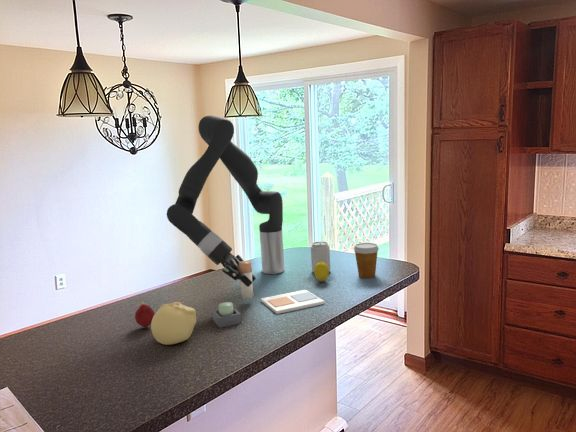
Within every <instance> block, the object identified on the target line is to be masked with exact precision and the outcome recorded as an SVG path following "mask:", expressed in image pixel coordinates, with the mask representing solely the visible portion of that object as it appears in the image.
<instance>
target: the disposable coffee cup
mask: <svg viewBox="0 0 576 432" xmlns="http://www.w3.org/2000/svg"><path fill="white" fill-rule="evenodd" d="M379 249H380V248H379V246H378V244H377V243H374V242H360V243H357V244H355V245H354V247H353V251H354V254H355V260H356V266H357V273H358V277H360V278H361V279H362V278H363V279H368V278H370V279H371V278H374V277H376V270H377V262H378V251H379Z"/></svg>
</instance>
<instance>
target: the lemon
mask: <svg viewBox="0 0 576 432" xmlns="http://www.w3.org/2000/svg"><path fill="white" fill-rule="evenodd" d="M313 274H314V277H315V278H316V279H317V280H318V281H319V282H321V283H323V282H324V281H326V280H327V279H328V277H329V275H330V271H329V269H328V266H327V264H326V263H324V262H322V261H320V262H319V263H317V264H316V265H315V268H314V272H313Z"/></svg>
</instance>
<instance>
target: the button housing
mask: <svg viewBox="0 0 576 432" xmlns="http://www.w3.org/2000/svg"><path fill="white" fill-rule="evenodd" d="M211 311H212V312H211V313H212V320H213V322H214V324H216V326H217V328H219V329H220V328H225V327H230V326H235V325H240V324H242V313H241V312H240V311H239V310H238V309H237V308H236V307H235V306H233V311H234V314H232V315H227V316H222V317H220V316H219V309H217V310H211Z"/></svg>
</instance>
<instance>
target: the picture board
mask: <svg viewBox="0 0 576 432" xmlns="http://www.w3.org/2000/svg"><path fill="white" fill-rule="evenodd" d="M260 302H261V303H263V304H264V305H265V306H266V307H267V308H268V309H270V310H271V311H272V312H274V313H275V314H276V315H279V314H284V313H288V312H294V311H297V310H302V309H307V308H312V307H316V306H320V305H324V304H325V300H324V299H322V298H320V297H318V296H317V295H315V294H314V293H312V292H310V291H309V290H307V289H300V290H296V291H291V292H287V293H281V294H276V295H273V296H266V297H261V298H260Z"/></svg>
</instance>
